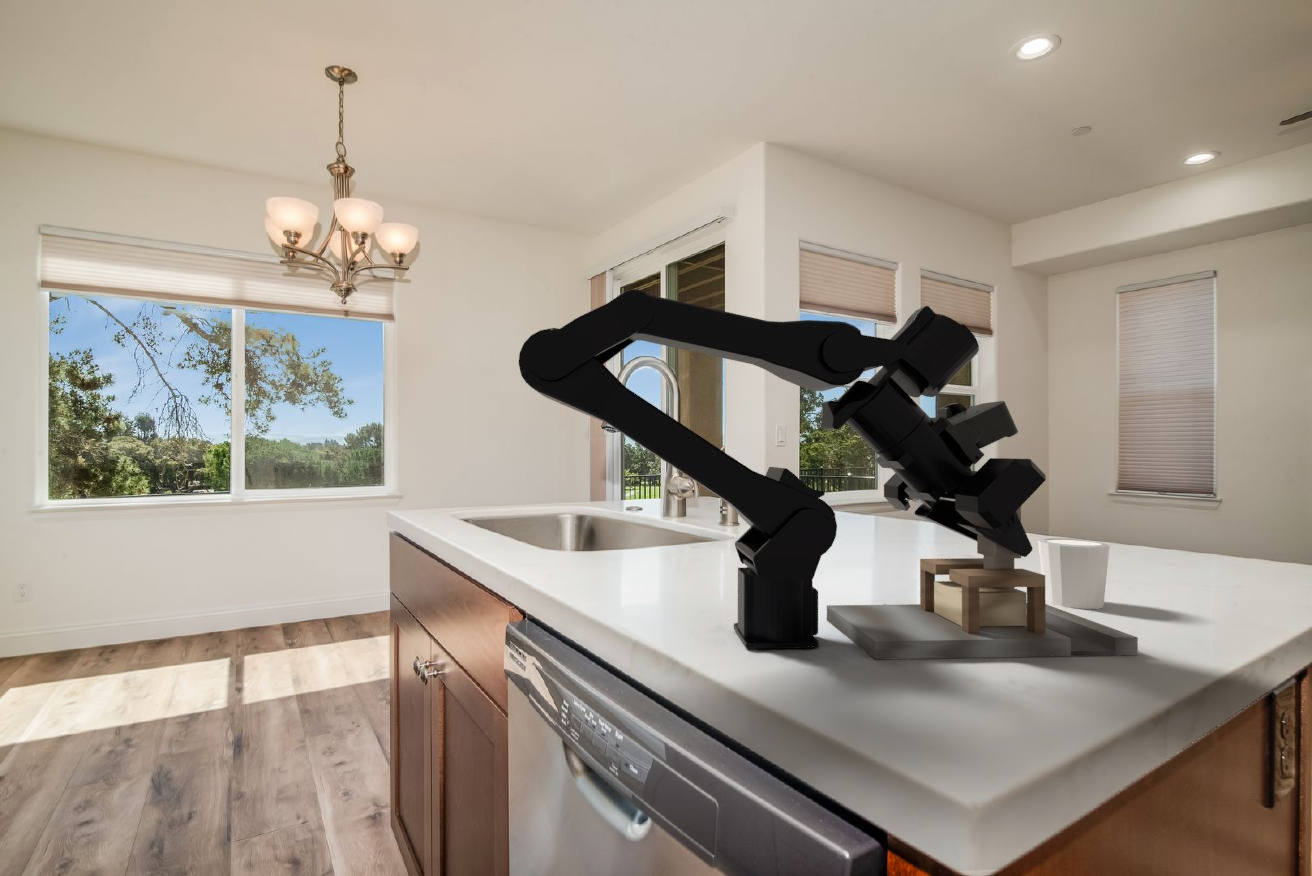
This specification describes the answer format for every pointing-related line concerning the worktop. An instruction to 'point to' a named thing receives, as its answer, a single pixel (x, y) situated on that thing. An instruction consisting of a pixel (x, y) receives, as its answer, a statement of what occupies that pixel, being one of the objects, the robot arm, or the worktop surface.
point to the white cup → (1074, 572)
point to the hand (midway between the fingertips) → (1012, 549)
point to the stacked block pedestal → (986, 592)
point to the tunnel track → (975, 621)
